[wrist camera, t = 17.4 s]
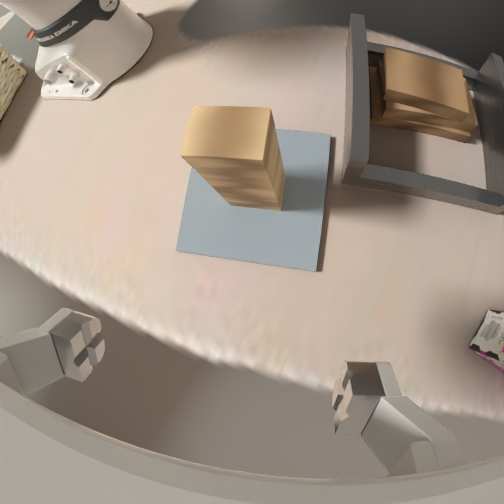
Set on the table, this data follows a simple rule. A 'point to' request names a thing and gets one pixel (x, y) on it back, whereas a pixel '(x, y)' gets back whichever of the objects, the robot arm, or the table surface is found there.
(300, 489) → the robot arm
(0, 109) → the storage basket
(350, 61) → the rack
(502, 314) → the candy bar box
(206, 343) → the table surface
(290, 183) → the slate mat
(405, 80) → the offcut stack
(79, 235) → the table surface
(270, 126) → the tan wooden block
